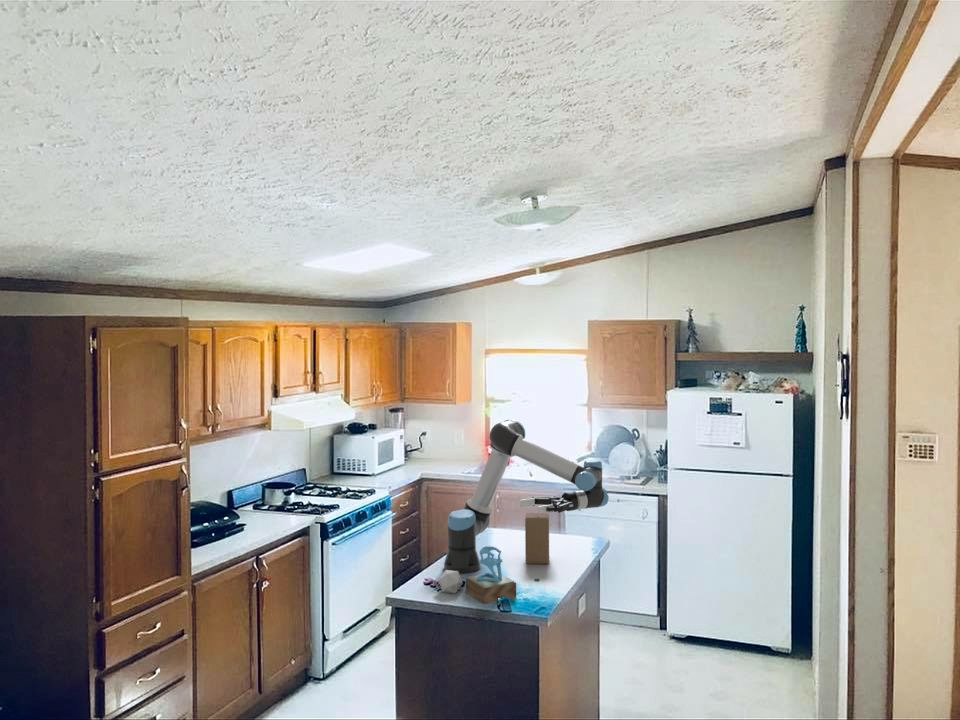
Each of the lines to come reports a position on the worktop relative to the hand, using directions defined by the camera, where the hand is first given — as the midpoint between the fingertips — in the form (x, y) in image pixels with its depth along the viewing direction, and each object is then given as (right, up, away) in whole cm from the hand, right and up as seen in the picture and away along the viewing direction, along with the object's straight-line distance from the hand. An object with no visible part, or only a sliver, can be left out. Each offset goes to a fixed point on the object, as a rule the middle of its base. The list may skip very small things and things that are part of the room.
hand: (529, 506), depth 301 cm
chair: (-15, -25, -14) cm, 32 cm away
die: (-31, -31, -10) cm, 44 cm away
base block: (-15, -31, -14) cm, 37 cm away
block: (+6, -29, +29) cm, 42 cm away
